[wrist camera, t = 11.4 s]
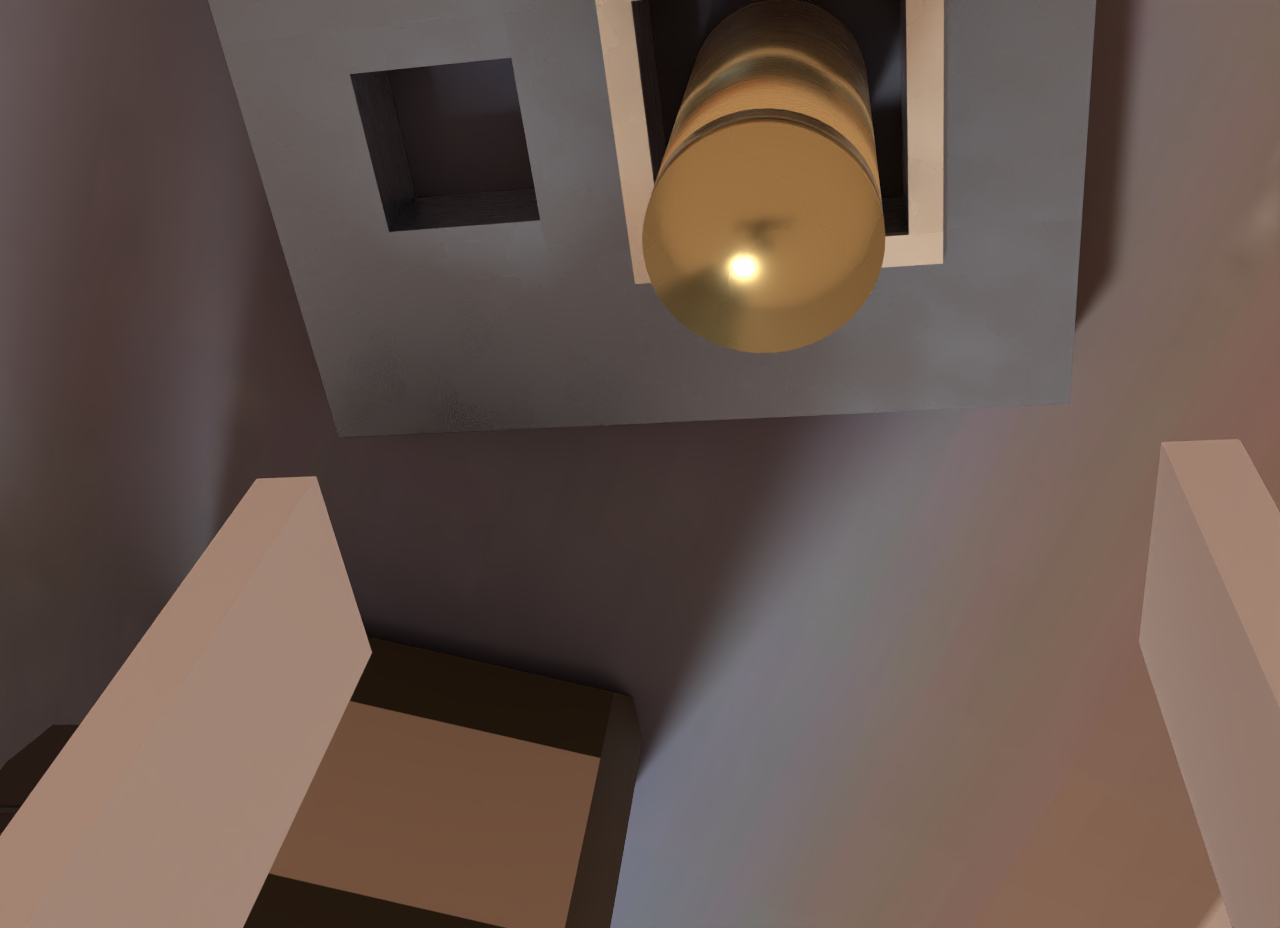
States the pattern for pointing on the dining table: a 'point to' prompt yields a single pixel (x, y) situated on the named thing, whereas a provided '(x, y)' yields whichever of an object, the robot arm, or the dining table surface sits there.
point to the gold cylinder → (769, 184)
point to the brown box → (460, 803)
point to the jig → (615, 210)
